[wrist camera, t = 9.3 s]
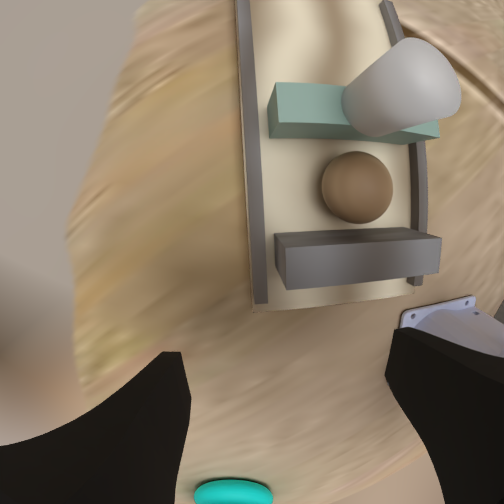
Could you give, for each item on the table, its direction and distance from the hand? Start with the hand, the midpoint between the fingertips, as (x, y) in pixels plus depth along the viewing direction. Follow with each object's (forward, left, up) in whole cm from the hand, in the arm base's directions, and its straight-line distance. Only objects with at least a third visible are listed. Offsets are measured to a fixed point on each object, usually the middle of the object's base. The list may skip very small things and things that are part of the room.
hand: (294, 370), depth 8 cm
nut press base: (-5, -10, -10) cm, 15 cm away
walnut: (-5, -6, -7) cm, 10 cm away
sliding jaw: (-5, -10, -9) cm, 14 cm away
